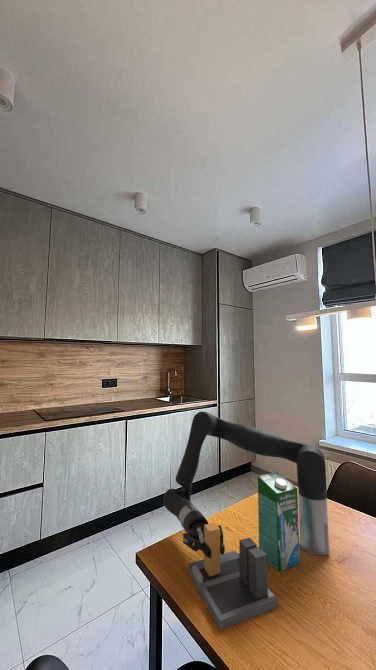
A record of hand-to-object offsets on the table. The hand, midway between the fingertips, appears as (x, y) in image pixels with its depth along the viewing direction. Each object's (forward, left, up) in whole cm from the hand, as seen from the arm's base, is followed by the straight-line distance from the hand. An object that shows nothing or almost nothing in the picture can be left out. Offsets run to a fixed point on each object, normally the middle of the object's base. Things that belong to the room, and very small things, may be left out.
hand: (216, 552), depth 79 cm
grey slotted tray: (-3, -1, -9) cm, 10 cm away
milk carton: (-14, -20, -9) cm, 26 cm away
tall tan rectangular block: (+2, -2, -6) cm, 7 cm away
